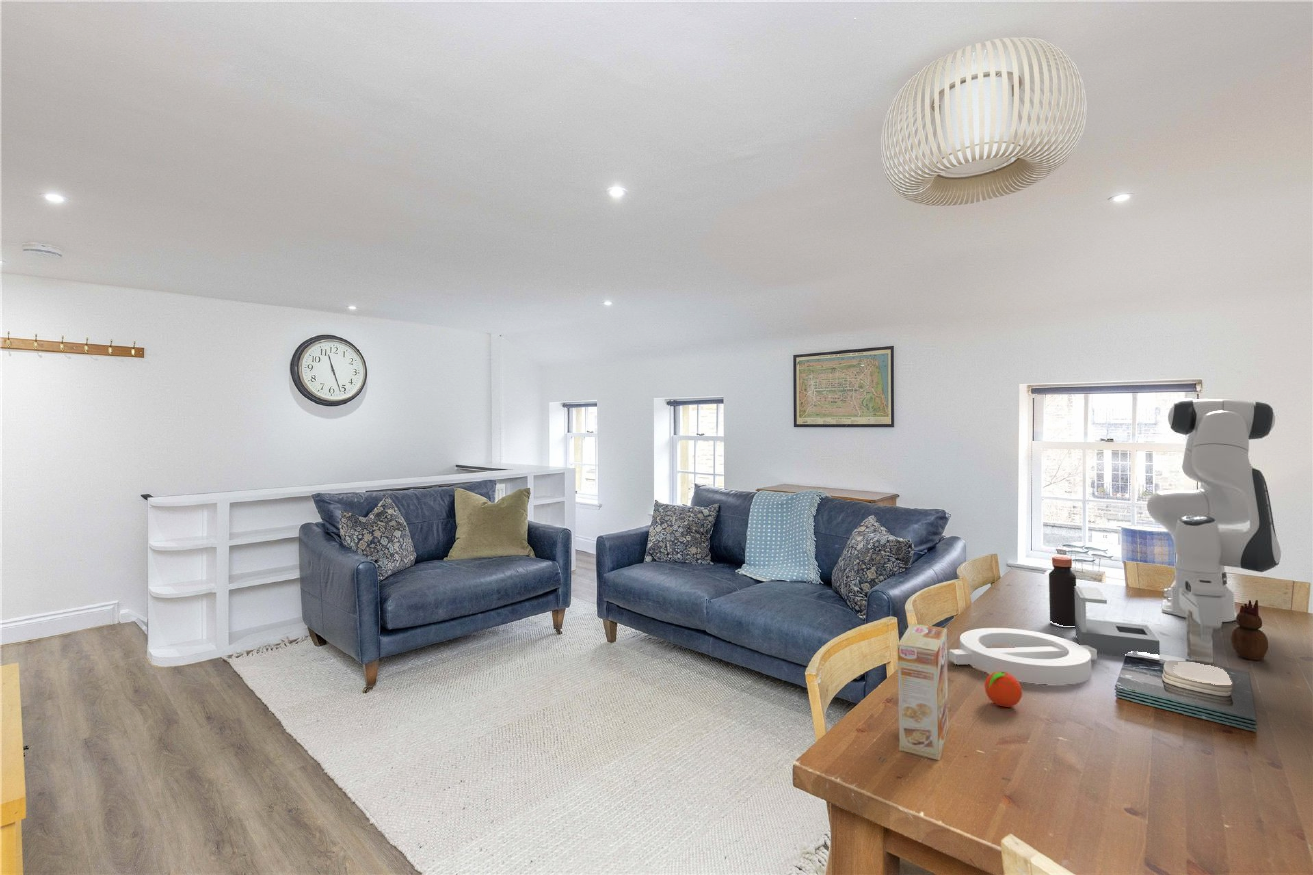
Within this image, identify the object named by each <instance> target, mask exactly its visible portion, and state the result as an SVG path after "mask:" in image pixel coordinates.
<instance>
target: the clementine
mask: <svg viewBox="0 0 1313 875" xmlns="http://www.w3.org/2000/svg"><path fill="white" fill-rule="evenodd" d="M1020 683H1021V682H1018V681H1017V679H1016V678H1015V677H1013V676H1012V675H1011V674H1009V673H1006V672H1000V671H999V672H994V673H992V674H988V675H987V677H986V679H985V681H984V690H985V694H986V696H987V698H988V699H989V700H991V702H993V703H994V704H995V705H998V706H1000V707H1004V708H1008V707H1009V708H1010V707H1013V706H1016V705H1017V704H1018V703H1020V701H1021V699H1022V696H1023V695H1022V694H1023V690H1022V686H1021V684H1020Z"/></svg>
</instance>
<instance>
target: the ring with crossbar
mask: <svg viewBox="0 0 1313 875" xmlns="http://www.w3.org/2000/svg"><path fill="white" fill-rule="evenodd" d="M992 645H1011V646H1015V648H986V647H988V646H992ZM949 659H950V660H952V661H953V662H954V664H955V665H956V664H957V665H968V664H972V665H975V666H977V667H979V668H980V669H983V670H985V671H989V672H990V673H994V672H999V671H1000V672H1006V673H1009V674H1011V675H1012V676H1013V677H1015V678H1016V679H1017V680H1021V681H1025V682H1032V683H1039V684H1054V685H1053V686H1064V685H1063V684H1073V685H1077V684H1076V683H1078V684H1081V683H1080V682H1082V683H1084V681H1085V682H1087V681H1089V678H1092V660H1097V659H1098V653H1097V650H1096V649H1094V648H1092V647H1090V646H1088V645H1079V643H1077V642H1074V641H1072V640H1070V639H1067V638H1063V637H1059V636H1056V635H1052V634H1048V633H1044V632H1038V631H1034V630H1033V631H1032V630H1028V629H1027V630H1026V629H1021V628H1020V629H1019V628H1007V627H1006V628H1005V627H985V628H984V627H983V628H982V627H981V628H976V629H970V630H967V631H965V632H963V633H961V635H960V636H959V649H957V648H956V649H948V660H949ZM950 660H949V661H950ZM952 661H951V662H952ZM953 662H952V663H953ZM1086 680H1087V681H1086ZM1055 684H1056V685H1055ZM1061 684H1062V685H1061Z"/></svg>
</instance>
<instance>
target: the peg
mask: <svg viewBox="0 0 1313 875" xmlns="http://www.w3.org/2000/svg"><path fill="white" fill-rule="evenodd" d="M1185 619H1186V620H1185V621H1186V622H1185V623H1186V655H1187V657H1189V659H1190V660H1191V659H1192V660H1191V661H1195V660H1196V661H1197V662H1203V661H1204V662H1206V663H1211V664H1212V663H1213V662H1214V659H1213V658H1214V652H1213V634H1212V635H1211V642H1210V643H1205V642H1202V641H1201V640H1200V633H1201V628H1200V624H1199V623H1197V622H1196V621H1195V620H1194V619H1193V618H1192V612H1191V611H1190V610H1189V609H1188V608H1186V617H1185Z"/></svg>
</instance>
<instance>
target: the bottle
mask: <svg viewBox="0 0 1313 875" xmlns="http://www.w3.org/2000/svg"><path fill="white" fill-rule="evenodd" d="M1051 562H1052V563H1051V565H1052V567H1053V569H1052V570H1051V571H1050V572H1049V573H1048V592H1049V595H1048V597H1049V599H1048V600H1049V622H1050V621H1052V622H1053V623H1057V624H1059V625H1063V626H1075V587H1074V586H1077V576H1076V574H1075V573H1074V572H1073V571H1072V570H1071V569H1072V568H1073V567H1072V566H1073V560H1072V558H1071V557H1068V556H1052V557H1051Z"/></svg>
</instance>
